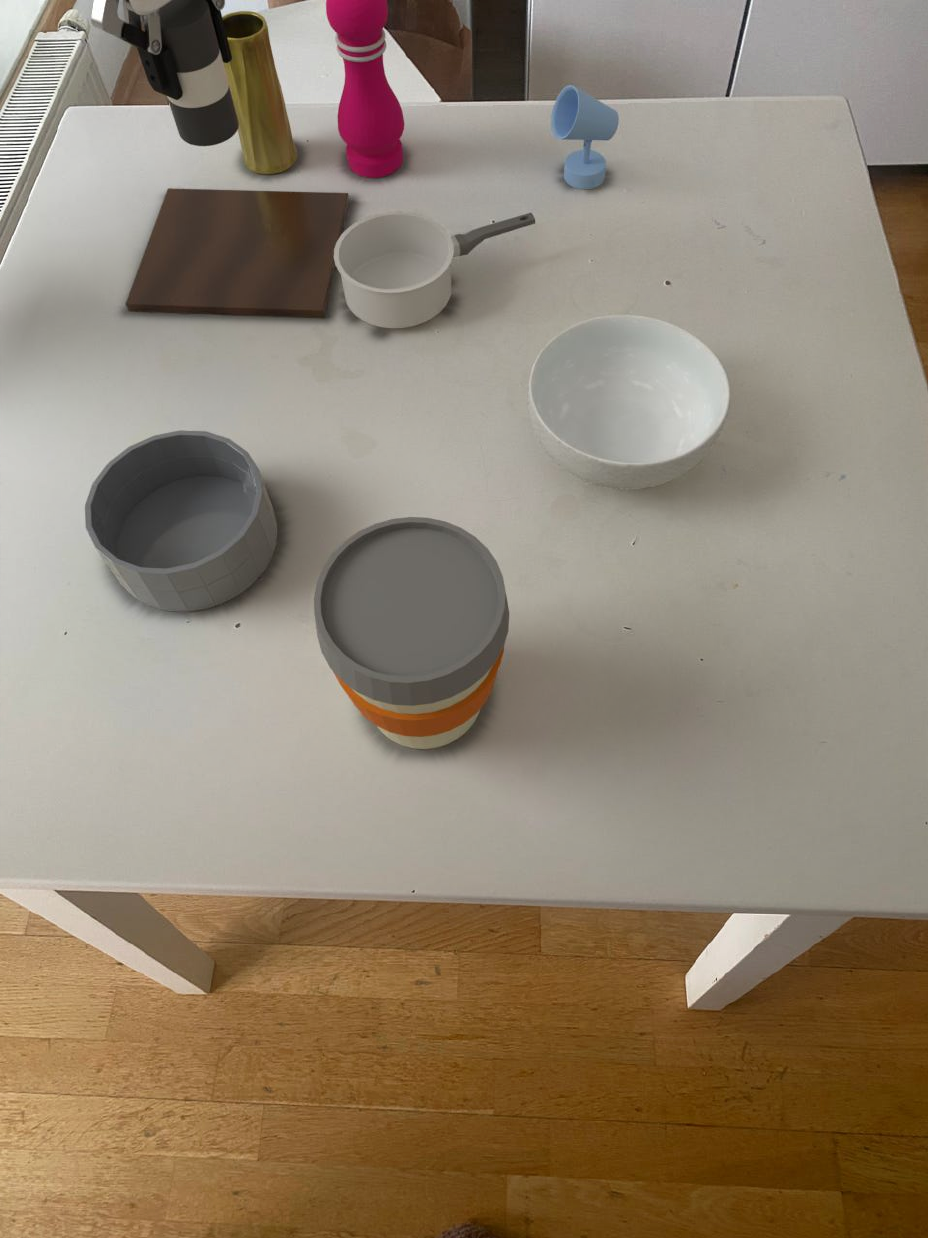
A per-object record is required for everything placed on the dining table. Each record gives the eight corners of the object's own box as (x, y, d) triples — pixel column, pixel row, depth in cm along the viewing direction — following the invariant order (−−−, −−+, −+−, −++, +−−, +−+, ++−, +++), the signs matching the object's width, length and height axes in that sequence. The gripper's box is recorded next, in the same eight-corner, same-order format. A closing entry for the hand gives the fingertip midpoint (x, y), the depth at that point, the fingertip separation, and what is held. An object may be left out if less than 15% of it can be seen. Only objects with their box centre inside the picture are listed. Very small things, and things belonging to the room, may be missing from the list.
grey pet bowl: (93, 607, 73) (62, 568, 68) (136, 471, 80) (111, 426, 75) (260, 616, 73) (242, 577, 67) (290, 478, 79) (275, 433, 74)
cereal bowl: (635, 550, 75) (648, 499, 69) (487, 447, 80) (486, 392, 74) (750, 432, 80) (772, 375, 74) (604, 344, 86) (613, 284, 80)
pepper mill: (334, 151, 102) (302, -49, 84) (393, 134, 103) (373, -66, 86) (356, 188, 99) (327, -12, 81) (417, 170, 100) (401, -31, 82)
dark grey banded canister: (172, 145, 81) (133, 28, 72) (186, 108, 83) (150, -9, 75) (232, 146, 80) (200, 28, 72) (244, 109, 83) (214, -9, 74)
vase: (264, 182, 99) (232, 49, 87) (233, 157, 102) (197, 23, 89) (308, 158, 101) (283, 24, 89) (277, 134, 104) (248, 0, 91)
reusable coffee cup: (503, 620, 72) (505, 510, 59) (510, 769, 66) (515, 684, 53) (347, 625, 72) (315, 516, 59) (339, 775, 66) (302, 690, 53)
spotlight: (558, 197, 97) (618, 183, 98) (565, 106, 88) (630, 92, 89) (543, 170, 99) (601, 157, 100) (548, 78, 90) (611, 65, 91)
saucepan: (551, 299, 89) (555, 252, 84) (359, 350, 87) (351, 305, 82) (511, 228, 95) (513, 180, 90) (329, 274, 92) (320, 227, 87)
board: (128, 311, 90) (125, 303, 89) (170, 195, 99) (167, 187, 98) (324, 318, 89) (322, 310, 88) (349, 200, 98) (348, 192, 97)
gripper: (162, -246, 66) (226, 16, 82) (-17, -153, 60) (91, 112, 76) (238, -225, 64) (289, 40, 80) (61, -126, 58) (155, 141, 73)
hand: (192, 73), depth 78 cm, fingers closed on dark grey banded canister, 5 cm apart
